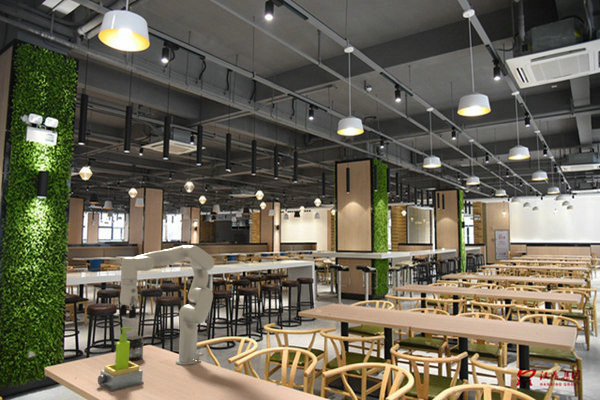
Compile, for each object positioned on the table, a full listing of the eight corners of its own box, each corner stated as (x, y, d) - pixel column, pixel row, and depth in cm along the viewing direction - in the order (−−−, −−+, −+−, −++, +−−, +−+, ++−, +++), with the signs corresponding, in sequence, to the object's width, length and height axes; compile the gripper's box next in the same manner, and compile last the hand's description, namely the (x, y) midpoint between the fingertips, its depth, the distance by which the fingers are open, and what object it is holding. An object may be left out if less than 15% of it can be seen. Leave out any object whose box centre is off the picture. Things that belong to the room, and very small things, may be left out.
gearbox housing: (129, 376, 206) (130, 359, 207) (143, 383, 196) (144, 366, 197) (94, 384, 194) (95, 366, 195) (107, 392, 184) (108, 374, 185)
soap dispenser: (125, 373, 193) (127, 329, 195) (112, 371, 194) (114, 328, 196) (132, 369, 198) (135, 326, 200) (119, 368, 200) (122, 325, 202)
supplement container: (129, 355, 242) (130, 335, 243) (146, 356, 241) (147, 335, 242) (119, 361, 232) (120, 339, 233) (137, 361, 231) (138, 339, 232)
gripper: (144, 282, 205) (143, 317, 203) (128, 280, 216) (126, 313, 215) (129, 283, 199) (128, 320, 198) (113, 281, 211) (112, 315, 209)
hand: (127, 316), depth 206 cm, fingers open, 9 cm apart
